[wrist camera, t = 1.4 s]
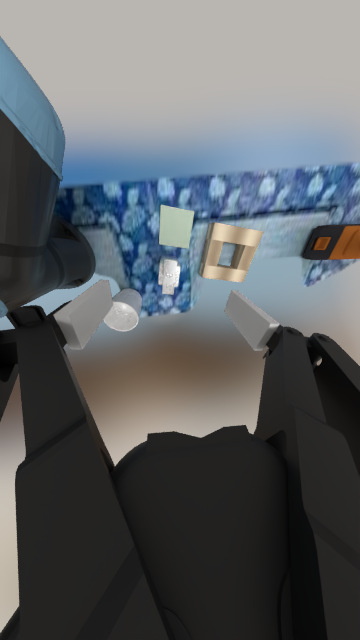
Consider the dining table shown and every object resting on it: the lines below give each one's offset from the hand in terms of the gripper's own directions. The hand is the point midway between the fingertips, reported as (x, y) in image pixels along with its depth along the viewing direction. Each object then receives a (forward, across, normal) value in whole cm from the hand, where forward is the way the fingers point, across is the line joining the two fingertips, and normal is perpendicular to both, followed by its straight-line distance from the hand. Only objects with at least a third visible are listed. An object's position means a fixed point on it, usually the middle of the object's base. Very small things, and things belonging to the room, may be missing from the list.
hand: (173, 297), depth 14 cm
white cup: (+23, -10, -11) cm, 27 cm away
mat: (+22, +1, +7) cm, 24 cm away
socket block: (+22, +14, +3) cm, 27 cm away
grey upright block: (+22, 0, -1) cm, 23 cm away
